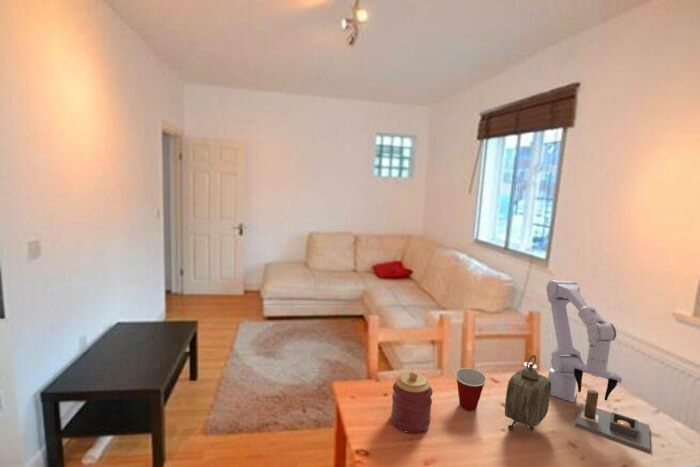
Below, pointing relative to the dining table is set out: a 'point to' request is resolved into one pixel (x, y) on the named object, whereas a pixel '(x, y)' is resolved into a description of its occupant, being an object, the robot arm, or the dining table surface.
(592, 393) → the brown cylinder
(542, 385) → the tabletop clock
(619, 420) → the breaker button
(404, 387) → the canister
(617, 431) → the switch panel
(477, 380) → the plastic cup
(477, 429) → the dining table surface
